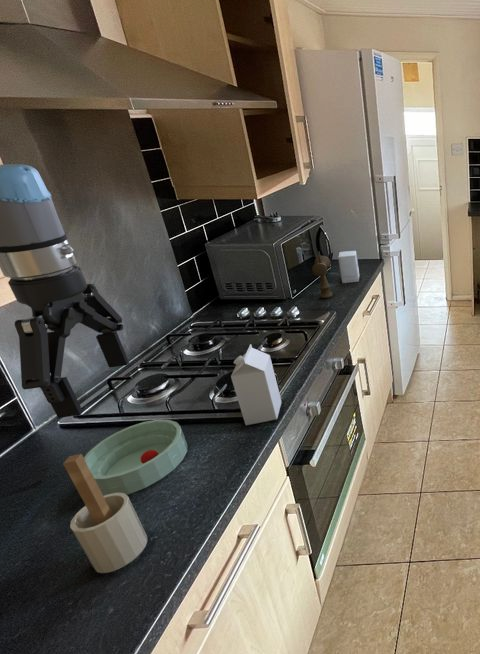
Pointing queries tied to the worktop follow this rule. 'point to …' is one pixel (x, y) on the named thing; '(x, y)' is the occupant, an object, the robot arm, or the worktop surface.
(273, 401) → the milk carton
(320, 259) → the kendama
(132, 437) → the bowl
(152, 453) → the cherry tomato
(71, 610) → the worktop surface
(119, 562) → the crock
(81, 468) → the stirring stick
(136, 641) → the worktop surface
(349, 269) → the white packaging box
